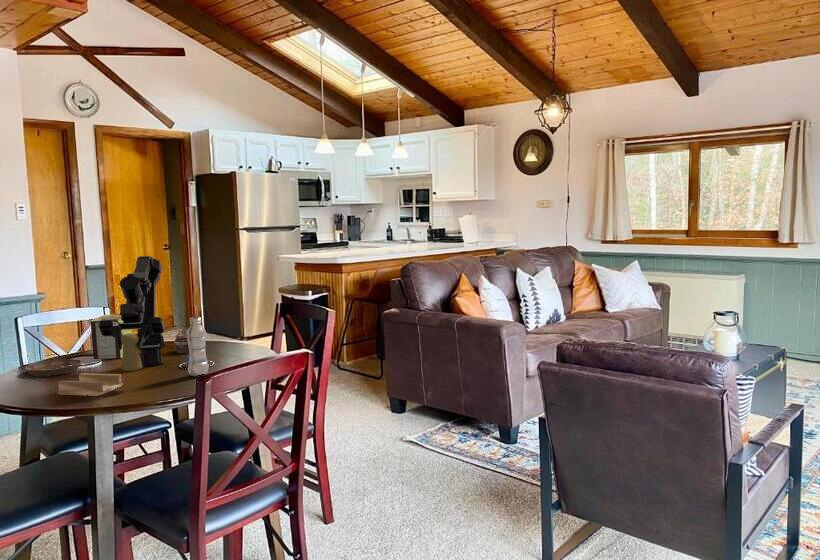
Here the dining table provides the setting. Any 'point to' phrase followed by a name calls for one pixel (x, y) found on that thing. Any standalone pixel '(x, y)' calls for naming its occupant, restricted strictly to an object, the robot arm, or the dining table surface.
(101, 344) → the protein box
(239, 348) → the dining table surface
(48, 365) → the plant saucer
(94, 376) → the cradle
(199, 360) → the plastic bottle
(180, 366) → the patterned bowl
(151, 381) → the dining table surface
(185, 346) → the cupcake
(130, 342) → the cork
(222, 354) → the dining table surface
